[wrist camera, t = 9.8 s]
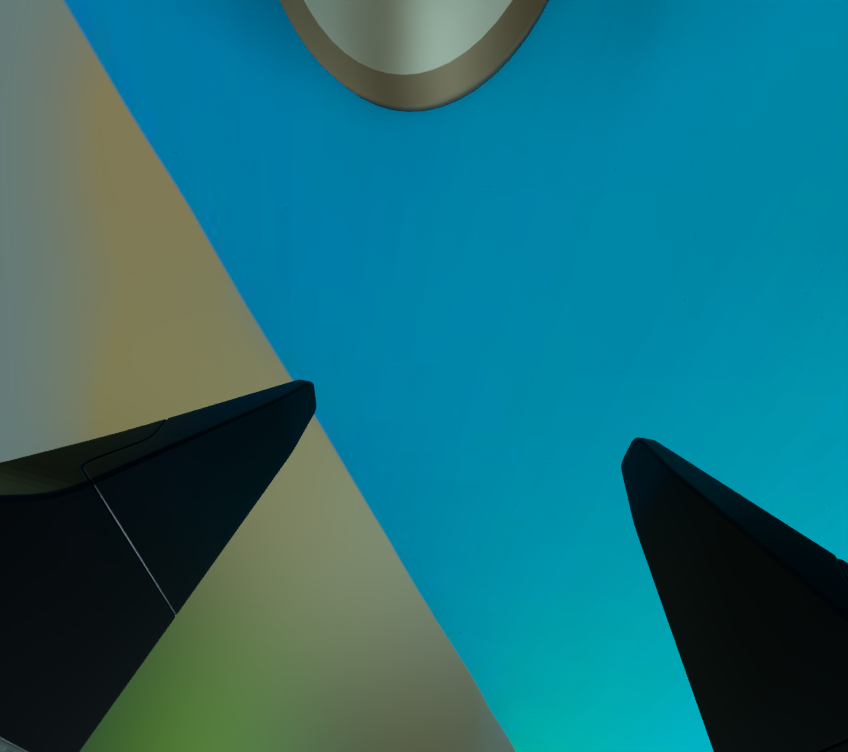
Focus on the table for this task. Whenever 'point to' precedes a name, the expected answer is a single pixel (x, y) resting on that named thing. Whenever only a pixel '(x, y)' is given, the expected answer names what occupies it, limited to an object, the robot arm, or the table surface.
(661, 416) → the table surface
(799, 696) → the robot arm
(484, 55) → the hub plate
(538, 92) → the table surface
